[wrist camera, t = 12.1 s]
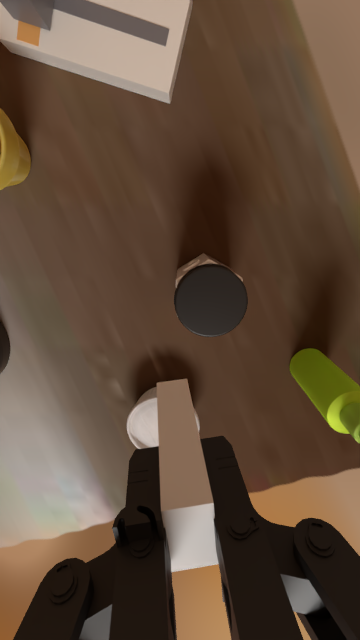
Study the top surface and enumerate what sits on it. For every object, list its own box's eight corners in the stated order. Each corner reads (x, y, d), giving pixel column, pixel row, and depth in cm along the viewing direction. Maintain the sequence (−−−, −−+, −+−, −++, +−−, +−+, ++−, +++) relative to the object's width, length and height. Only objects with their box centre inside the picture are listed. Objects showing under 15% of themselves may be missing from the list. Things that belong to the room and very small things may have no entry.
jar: (216, 243, 42) (228, 248, 31) (243, 291, 44) (264, 312, 33) (163, 276, 44) (156, 292, 32) (191, 321, 46) (195, 351, 34)
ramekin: (119, 416, 51) (113, 436, 46) (154, 367, 48) (151, 383, 43) (174, 446, 53) (173, 469, 48) (210, 401, 50) (213, 420, 45)
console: (192, 7, 35) (193, -14, 32) (169, 103, 37) (168, 93, 34) (20, -53, 33) (4, -81, 30) (10, 52, 36) (-5, 36, 33)
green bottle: (317, 336, 46) (412, 412, 27) (330, 372, 48) (428, 467, 29) (281, 351, 47) (349, 435, 28) (296, 386, 49) (369, 487, 30)
